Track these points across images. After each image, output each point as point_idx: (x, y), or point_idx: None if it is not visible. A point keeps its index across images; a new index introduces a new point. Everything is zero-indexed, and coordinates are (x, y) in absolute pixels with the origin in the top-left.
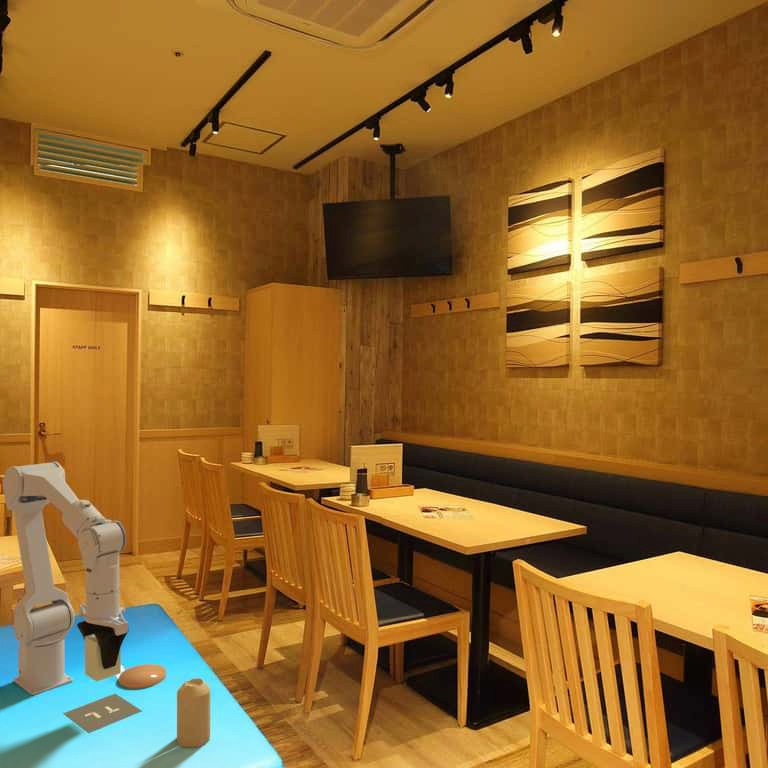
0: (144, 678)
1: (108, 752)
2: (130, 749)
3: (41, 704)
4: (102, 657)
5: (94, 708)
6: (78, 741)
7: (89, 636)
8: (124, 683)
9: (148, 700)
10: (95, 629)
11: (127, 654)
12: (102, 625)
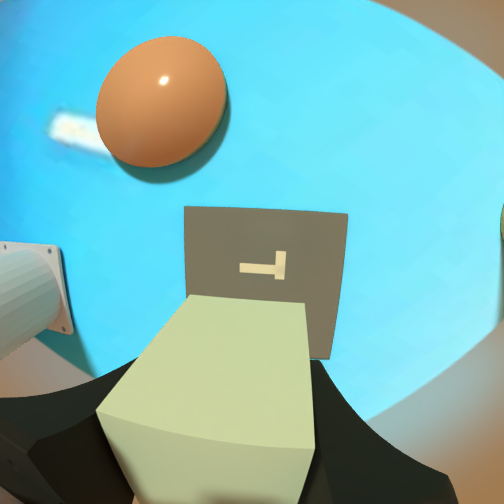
0: (182, 106)
1: (423, 360)
2: (453, 327)
3: (114, 342)
4: None
5: (224, 292)
6: (335, 381)
7: (155, 502)
8: (162, 165)
9: (298, 159)
10: (107, 483)
11: (33, 87)
12: (84, 465)
